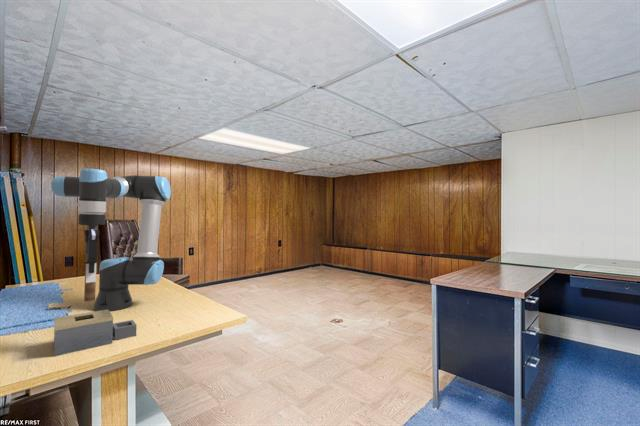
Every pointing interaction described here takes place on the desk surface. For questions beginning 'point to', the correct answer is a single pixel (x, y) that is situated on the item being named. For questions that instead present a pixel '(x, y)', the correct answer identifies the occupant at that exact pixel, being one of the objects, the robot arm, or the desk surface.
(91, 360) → the desk surface
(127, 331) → the holder
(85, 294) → the brown rounded rod
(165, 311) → the desk surface
